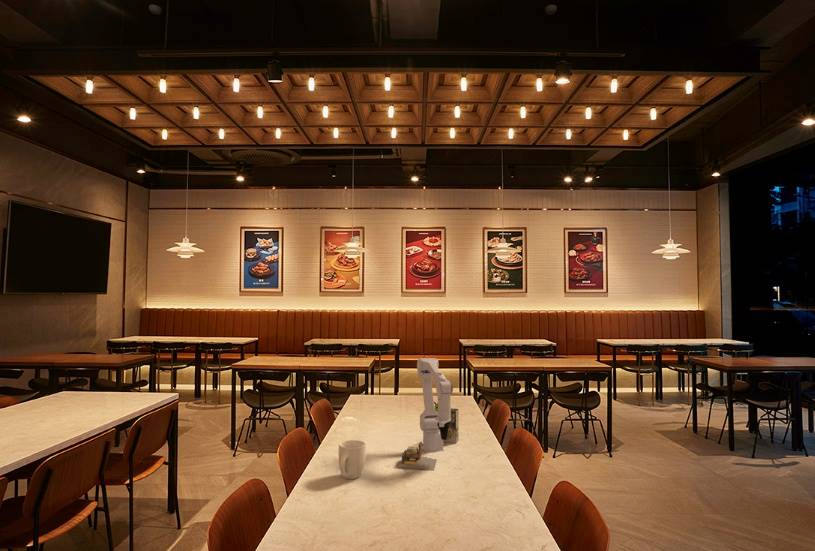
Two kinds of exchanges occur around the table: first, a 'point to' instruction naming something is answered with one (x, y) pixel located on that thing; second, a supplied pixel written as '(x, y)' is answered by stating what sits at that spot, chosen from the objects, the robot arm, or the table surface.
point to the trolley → (414, 452)
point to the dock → (417, 463)
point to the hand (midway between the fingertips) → (444, 439)
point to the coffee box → (453, 428)
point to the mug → (352, 458)
